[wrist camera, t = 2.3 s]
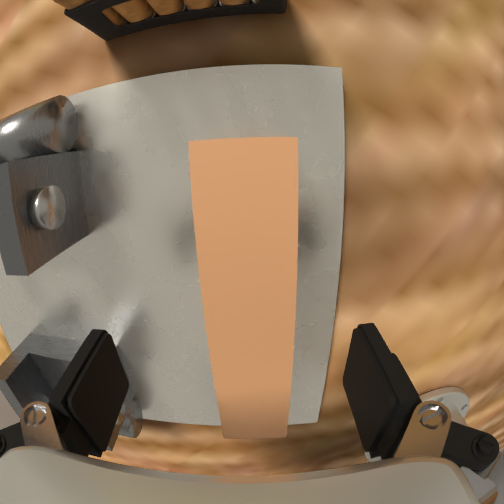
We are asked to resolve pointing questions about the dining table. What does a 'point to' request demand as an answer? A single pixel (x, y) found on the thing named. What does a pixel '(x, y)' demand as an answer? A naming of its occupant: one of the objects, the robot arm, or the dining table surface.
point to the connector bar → (248, 275)
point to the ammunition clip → (156, 12)
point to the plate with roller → (156, 231)
